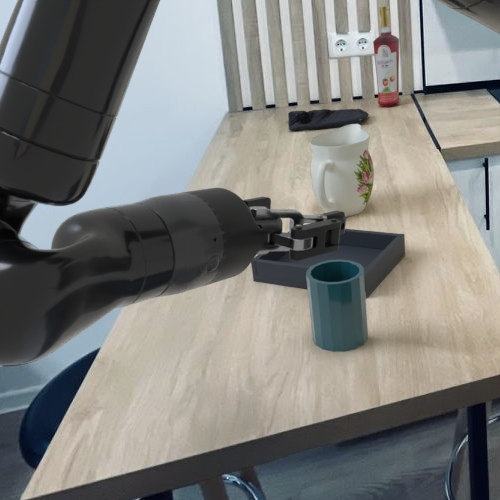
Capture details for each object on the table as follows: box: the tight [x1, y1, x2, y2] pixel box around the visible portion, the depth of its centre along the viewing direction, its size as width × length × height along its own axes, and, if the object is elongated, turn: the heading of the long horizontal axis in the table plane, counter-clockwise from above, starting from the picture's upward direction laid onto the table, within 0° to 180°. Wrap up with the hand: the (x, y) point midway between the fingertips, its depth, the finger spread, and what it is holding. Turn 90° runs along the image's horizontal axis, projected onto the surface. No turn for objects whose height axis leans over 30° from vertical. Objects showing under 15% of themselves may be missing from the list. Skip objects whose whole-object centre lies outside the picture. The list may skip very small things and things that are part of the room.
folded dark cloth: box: [287, 108, 370, 132], centre depth 184 cm, size 15×22×5 cm
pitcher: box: [309, 123, 375, 218], centre depth 114 cm, size 11×18×14 cm, turn 151°
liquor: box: [372, 5, 401, 108], centre depth 192 cm, size 7×7×28 cm
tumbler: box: [306, 260, 369, 353], centre depth 73 cm, size 6×6×10 cm
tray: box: [250, 228, 406, 299], centre depth 96 cm, size 18×15×3 cm
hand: (302, 214), depth 63 cm, fingers open, 8 cm apart
